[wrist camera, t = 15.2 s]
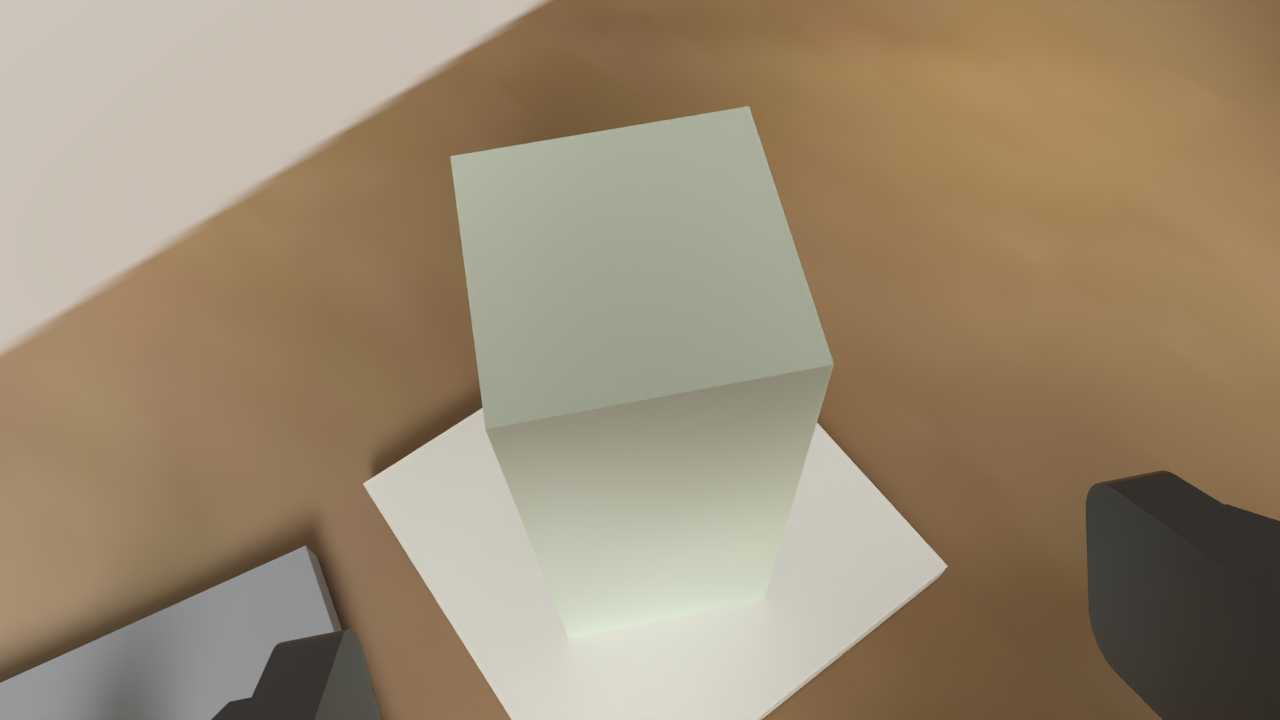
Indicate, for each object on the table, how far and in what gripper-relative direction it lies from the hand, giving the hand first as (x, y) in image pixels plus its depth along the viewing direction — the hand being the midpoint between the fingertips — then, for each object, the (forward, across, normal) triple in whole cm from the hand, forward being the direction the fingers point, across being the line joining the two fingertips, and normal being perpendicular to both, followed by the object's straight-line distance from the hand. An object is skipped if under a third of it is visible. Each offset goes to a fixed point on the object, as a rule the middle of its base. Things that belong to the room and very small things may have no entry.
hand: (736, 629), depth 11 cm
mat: (+15, 0, +6) cm, 16 cm away
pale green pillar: (+14, 0, +6) cm, 15 cm away
